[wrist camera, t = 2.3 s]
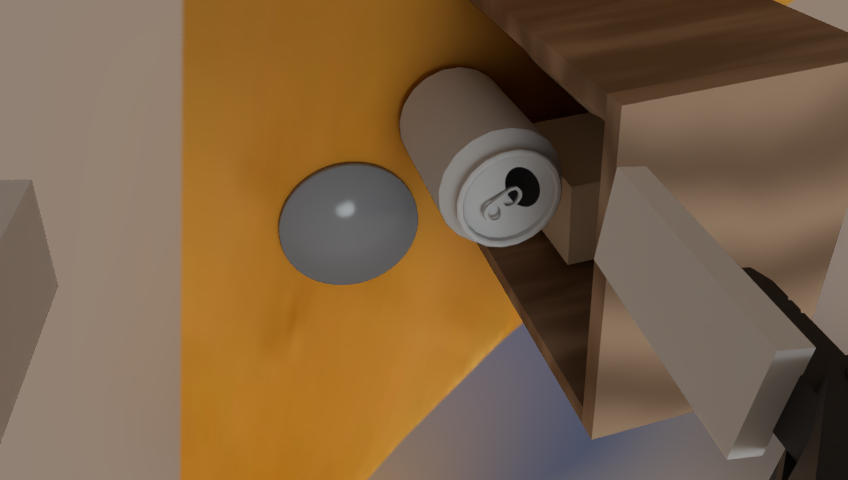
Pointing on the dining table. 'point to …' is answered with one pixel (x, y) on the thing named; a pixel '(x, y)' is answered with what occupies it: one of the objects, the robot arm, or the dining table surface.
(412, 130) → the can
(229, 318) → the dining table surface
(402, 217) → the coaster
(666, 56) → the wooden box
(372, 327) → the dining table surface
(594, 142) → the block
